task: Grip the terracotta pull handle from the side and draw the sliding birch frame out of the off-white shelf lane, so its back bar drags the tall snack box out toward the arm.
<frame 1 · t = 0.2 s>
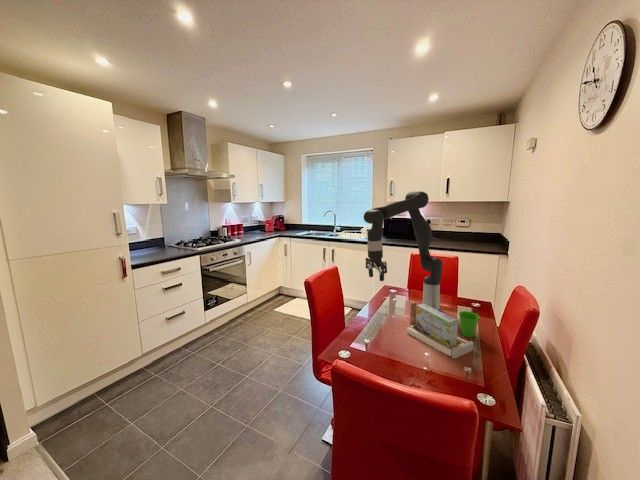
hand: (376, 278, 139), 28 cm above the table, tool pointing down, fingers open, 8 cm apart
cup: (467, 335, 135), on the table
shelf lane: (435, 339, 132), on the table
pull frame: (433, 324, 132), point 7 cm above the table, slide at 0.0 cm
snack box: (434, 340, 132), resting in pull frame
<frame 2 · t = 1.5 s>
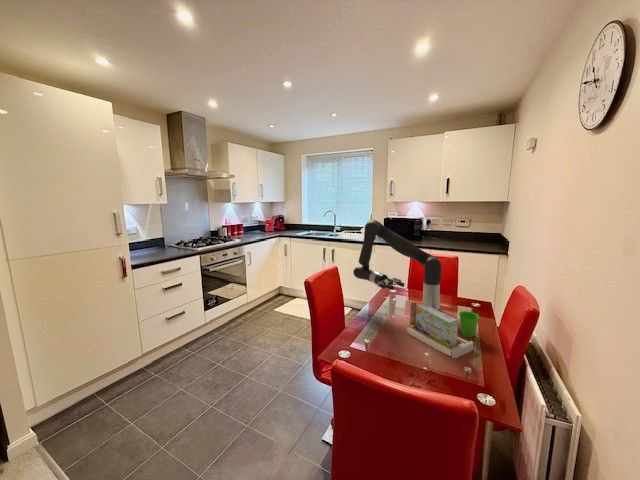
hand: (398, 286, 149), 20 cm above the table, tool horizontal, fingers open, 8 cm apart
nothing on the table moved.
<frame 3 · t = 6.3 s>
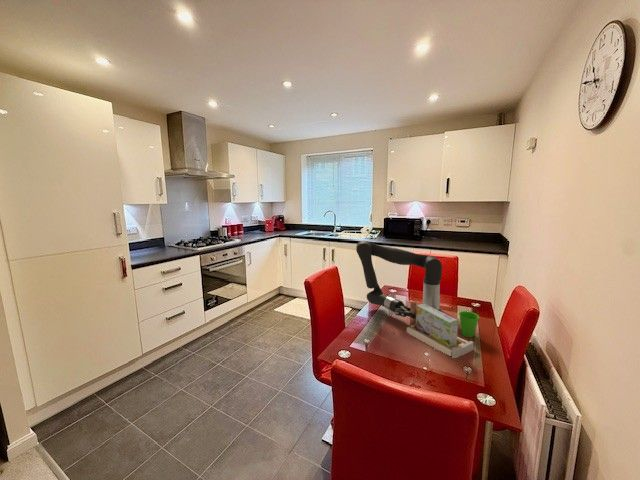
hand: (417, 316, 140), 8 cm above the table, tool horizontal, fingers closed on pull frame, 3 cm apart
pull frame: (433, 324, 132), point 7 cm above the table, slide at 0.0 cm, touching gripper
everything else where it was.
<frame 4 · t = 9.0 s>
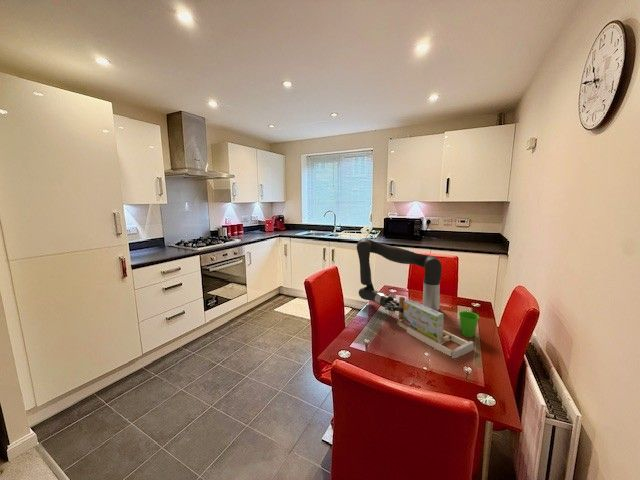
hand: (405, 310, 147), 8 cm above the table, tool horizontal, fingers closed on pull frame, 3 cm apart
pull frame: (420, 318, 139), point 7 cm above the table, slide at -8.0 cm, touching gripper, snack box
snack box: (421, 334, 137), resting in pull frame
everything else where it was.
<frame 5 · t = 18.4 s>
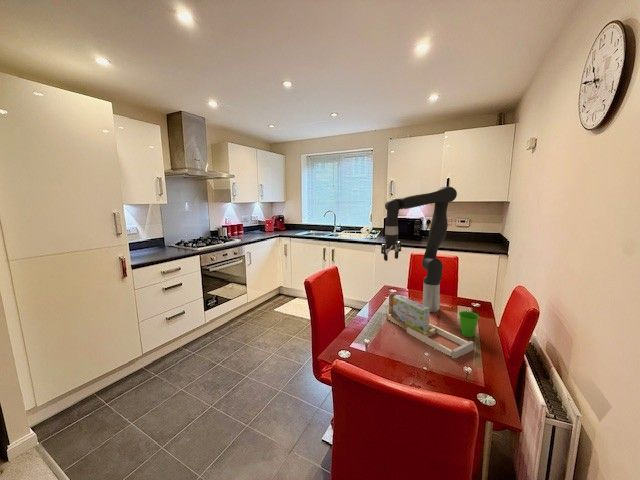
hand: (391, 259, 162), 32 cm above the table, tool pointing down, fingers open, 8 cm apart
pull frame: (408, 312, 145), point 7 cm above the table, slide at -15.9 cm
snack box: (409, 328, 144), resting in pull frame
everything else where it was.
at the end: pull frame slide at -15.9 cm; snack box inside the target area (2.0 cm from its centre), resting in pull frame; snack box tilted 0° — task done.
